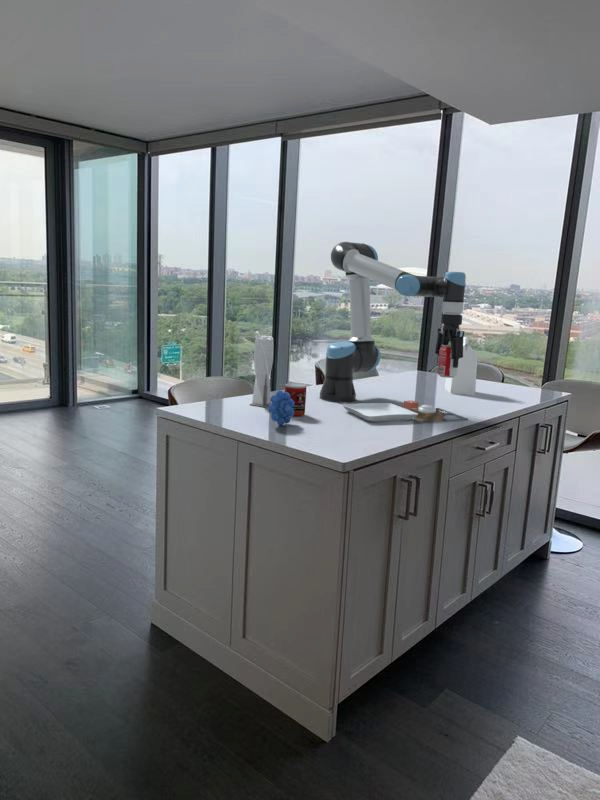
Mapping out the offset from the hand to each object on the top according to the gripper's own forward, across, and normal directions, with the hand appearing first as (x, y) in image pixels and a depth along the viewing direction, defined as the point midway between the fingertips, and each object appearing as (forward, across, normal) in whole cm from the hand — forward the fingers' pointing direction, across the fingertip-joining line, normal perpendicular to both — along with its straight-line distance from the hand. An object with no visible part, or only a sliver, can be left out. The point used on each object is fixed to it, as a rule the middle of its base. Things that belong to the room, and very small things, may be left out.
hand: (446, 374), depth 234 cm
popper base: (+16, -4, +11) cm, 20 cm away
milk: (+16, +43, -39) cm, 61 cm away
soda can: (+1, 0, 0) cm, 1 cm away
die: (+16, +7, +10) cm, 20 cm away
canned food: (+15, +9, +58) cm, 61 cm away
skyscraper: (+15, +27, +65) cm, 72 cm away
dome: (+14, -4, +11) cm, 18 cm away
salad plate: (+16, +2, +28) cm, 32 cm away
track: (+16, 0, 0) cm, 16 cm away
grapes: (+16, -7, +69) cm, 71 cm away
